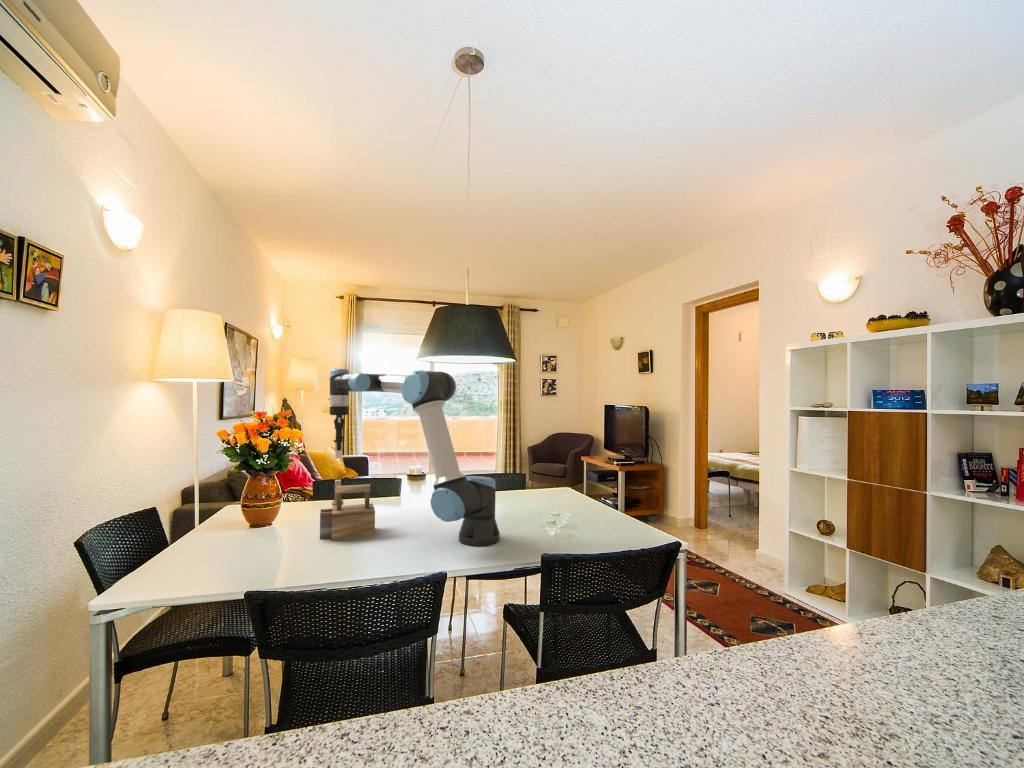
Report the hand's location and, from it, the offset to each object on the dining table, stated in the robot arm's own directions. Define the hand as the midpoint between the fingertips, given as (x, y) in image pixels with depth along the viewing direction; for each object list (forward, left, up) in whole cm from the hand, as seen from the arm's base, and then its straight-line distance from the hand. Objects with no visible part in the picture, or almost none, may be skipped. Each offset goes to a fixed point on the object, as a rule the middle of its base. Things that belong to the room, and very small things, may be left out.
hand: (338, 456), depth 196 cm
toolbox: (-23, -3, -27) cm, 35 cm away
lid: (-23, -3, -19) cm, 30 cm away
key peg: (0, 0, -27) cm, 27 cm away
